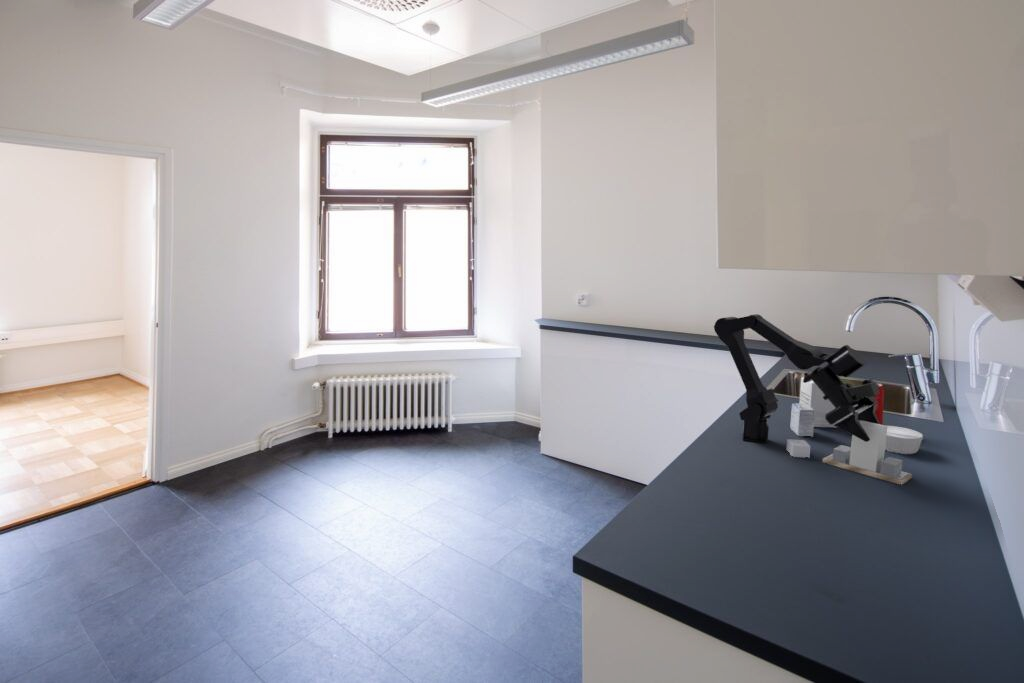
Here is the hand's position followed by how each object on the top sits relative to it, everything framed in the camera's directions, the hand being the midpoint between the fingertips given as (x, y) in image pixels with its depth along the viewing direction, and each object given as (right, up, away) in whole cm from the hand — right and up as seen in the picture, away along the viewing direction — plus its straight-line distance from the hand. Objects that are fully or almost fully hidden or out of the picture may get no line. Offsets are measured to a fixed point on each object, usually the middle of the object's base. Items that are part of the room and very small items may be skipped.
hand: (875, 437), depth 133 cm
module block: (-1, -8, +2) cm, 8 cm away
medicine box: (-1, -5, +32) cm, 32 cm away
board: (-1, -9, +2) cm, 9 cm away
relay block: (-12, -7, +14) cm, 20 cm away
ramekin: (+19, -7, +18) cm, 27 cm away
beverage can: (+23, -4, +35) cm, 42 cm away
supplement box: (+9, -3, +41) cm, 42 cm away
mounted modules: (-1, -8, +2) cm, 8 cm away
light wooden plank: (-1, -9, +2) cm, 9 cm away
